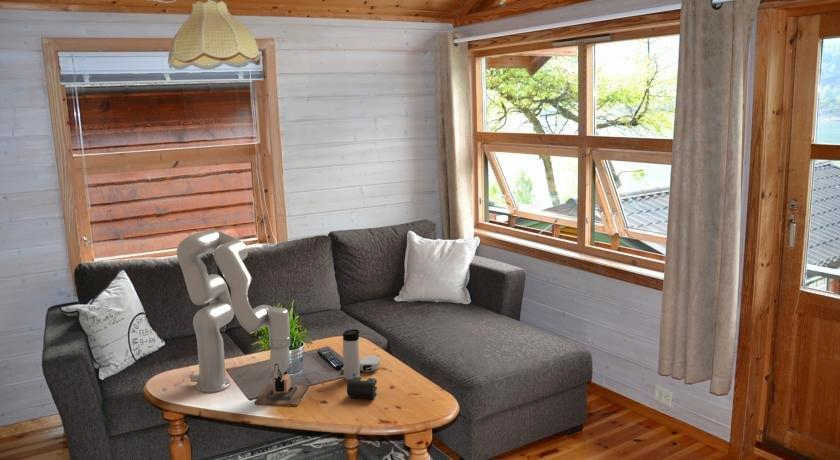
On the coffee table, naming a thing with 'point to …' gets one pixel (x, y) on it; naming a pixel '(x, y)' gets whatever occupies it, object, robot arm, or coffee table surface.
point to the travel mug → (351, 354)
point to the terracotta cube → (286, 382)
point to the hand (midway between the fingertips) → (282, 387)
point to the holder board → (281, 396)
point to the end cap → (362, 388)
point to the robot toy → (368, 363)
